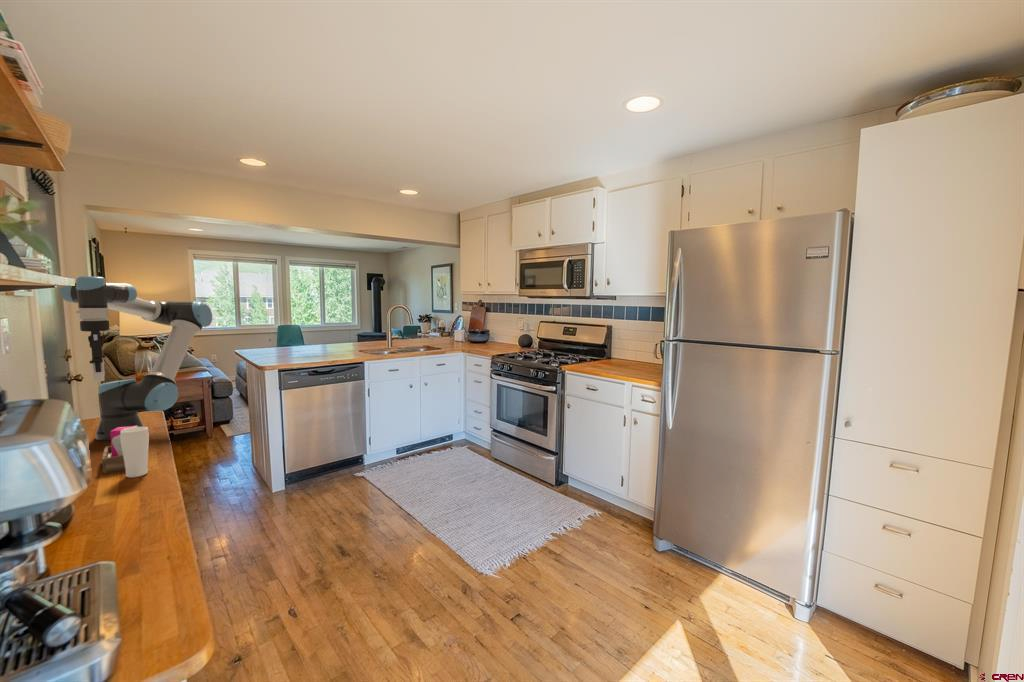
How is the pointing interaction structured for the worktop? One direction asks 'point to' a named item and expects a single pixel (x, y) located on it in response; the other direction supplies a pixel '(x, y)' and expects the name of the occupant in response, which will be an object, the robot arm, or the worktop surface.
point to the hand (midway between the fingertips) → (99, 378)
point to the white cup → (135, 450)
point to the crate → (112, 462)
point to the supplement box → (117, 440)
